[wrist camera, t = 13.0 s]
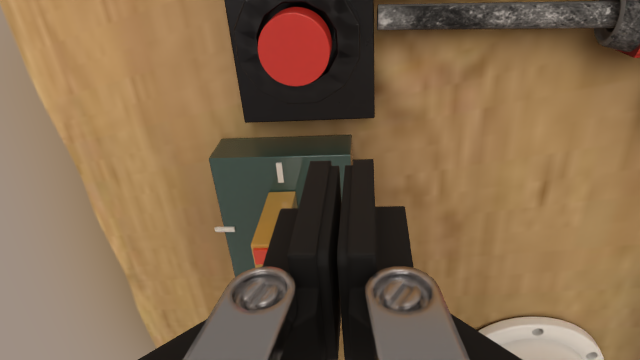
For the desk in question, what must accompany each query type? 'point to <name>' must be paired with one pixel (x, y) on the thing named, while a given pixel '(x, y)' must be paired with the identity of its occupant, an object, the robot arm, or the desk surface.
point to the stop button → (295, 46)
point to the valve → (524, 18)
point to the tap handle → (269, 223)
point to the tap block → (265, 180)
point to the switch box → (335, 82)
